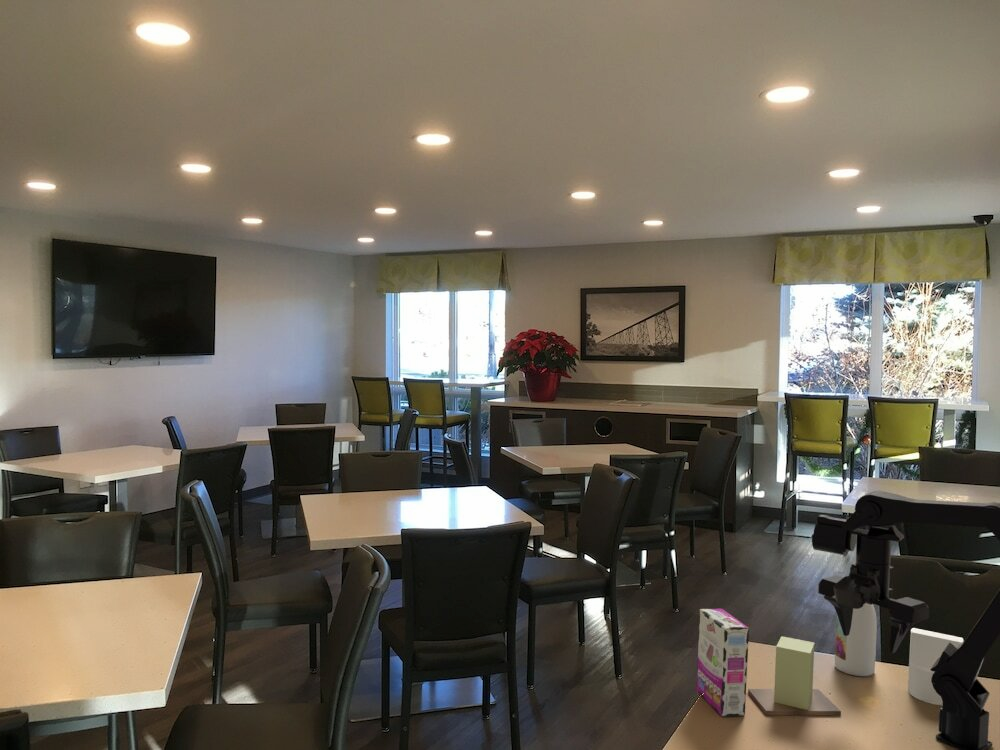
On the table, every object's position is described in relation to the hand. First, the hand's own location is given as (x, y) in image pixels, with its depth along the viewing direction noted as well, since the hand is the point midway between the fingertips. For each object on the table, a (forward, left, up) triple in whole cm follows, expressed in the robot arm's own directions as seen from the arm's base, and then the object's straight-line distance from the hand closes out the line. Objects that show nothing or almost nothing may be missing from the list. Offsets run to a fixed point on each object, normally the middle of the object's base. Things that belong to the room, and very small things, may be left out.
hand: (868, 643), depth 144 cm
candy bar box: (+16, +21, -13) cm, 29 cm away
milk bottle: (+13, -16, -13) cm, 24 cm away
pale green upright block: (+9, +9, -12) cm, 18 cm away
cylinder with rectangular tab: (-2, -19, -13) cm, 23 cm away
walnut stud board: (+9, +9, -13) cm, 18 cm away
